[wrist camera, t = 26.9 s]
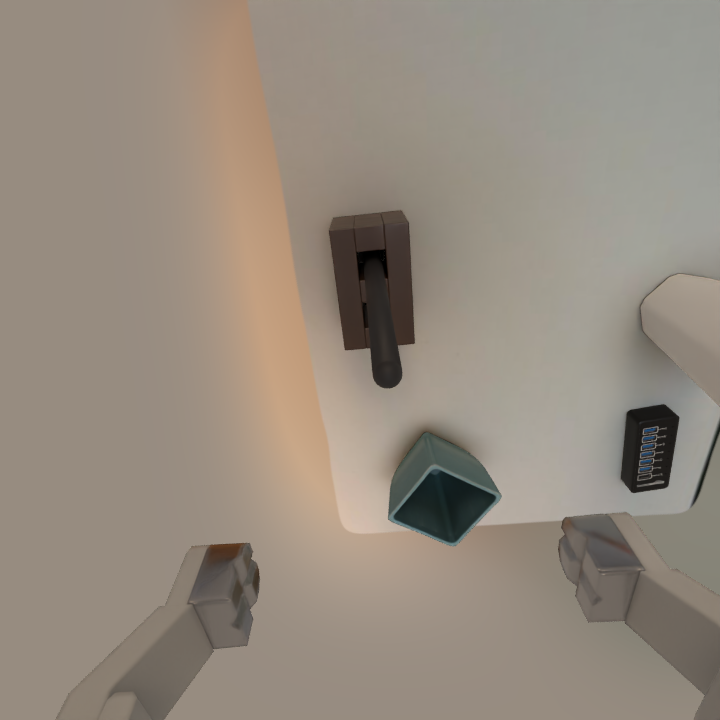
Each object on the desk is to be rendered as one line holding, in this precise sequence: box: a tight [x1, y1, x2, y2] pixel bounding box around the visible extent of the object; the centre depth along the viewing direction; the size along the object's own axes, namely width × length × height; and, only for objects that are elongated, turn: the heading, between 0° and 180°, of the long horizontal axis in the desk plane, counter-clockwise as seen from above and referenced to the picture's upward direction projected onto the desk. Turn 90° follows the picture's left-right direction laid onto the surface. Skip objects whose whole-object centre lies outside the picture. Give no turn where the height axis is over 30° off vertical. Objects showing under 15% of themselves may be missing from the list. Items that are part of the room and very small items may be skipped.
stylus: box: [363, 250, 402, 388], centre depth 32 cm, size 2×2×22 cm
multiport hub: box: [621, 405, 679, 493], centre depth 51 cm, size 4×11×2 cm, turn 12°
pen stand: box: [329, 210, 415, 350], centre depth 39 cm, size 6×11×6 cm, turn 6°
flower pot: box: [388, 432, 502, 546], centre depth 48 cm, size 9×9×9 cm
